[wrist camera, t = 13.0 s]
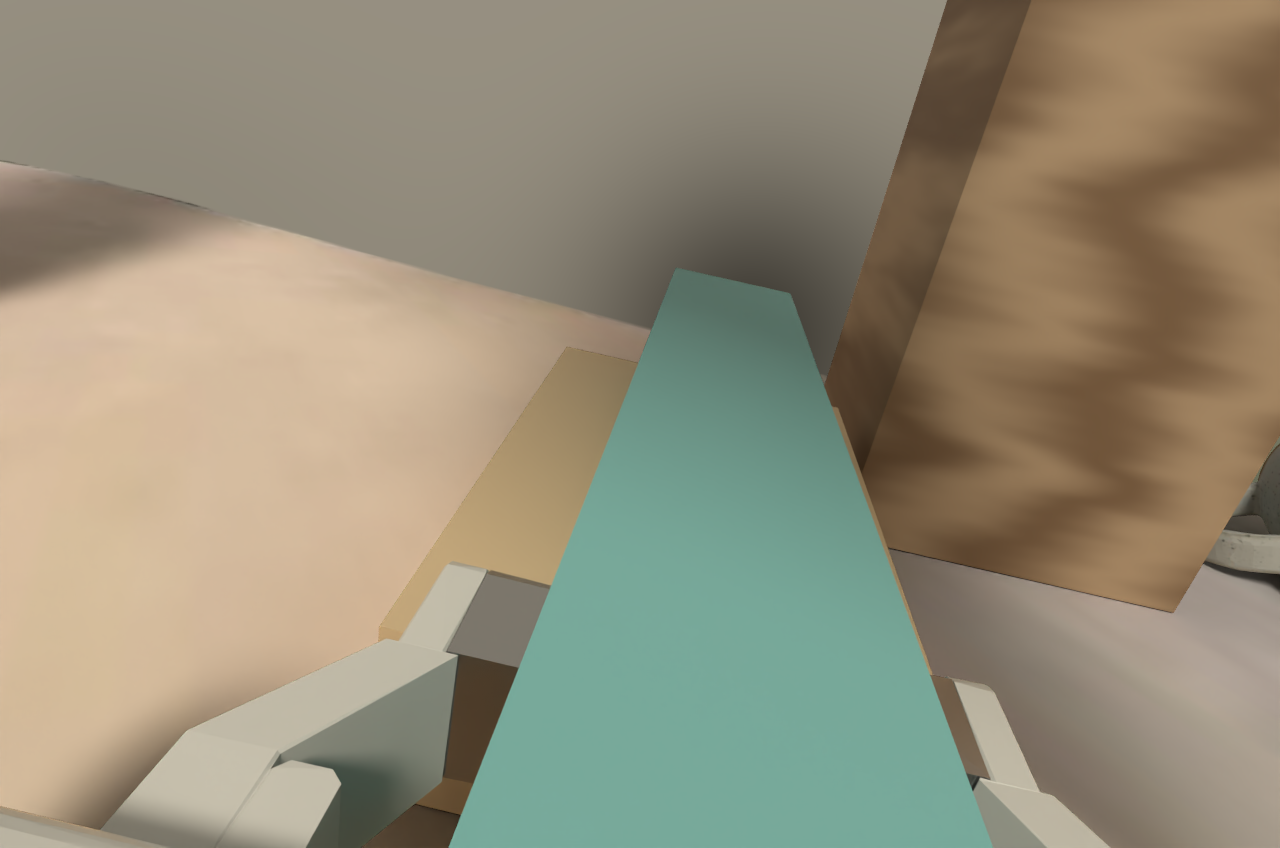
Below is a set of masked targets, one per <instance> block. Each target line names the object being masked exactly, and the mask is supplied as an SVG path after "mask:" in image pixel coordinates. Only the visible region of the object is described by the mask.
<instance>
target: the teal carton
mask: <svg viewBox="0 0 1280 848" xmlns="http://www.w3.org/2000/svg"><path fill="white" fill-rule="evenodd" d="M449 848H993V846H992V843H991V840H990V837H989V835H988V832H987V829H986V827H985V824H984V821H983V818H982V816H981V813H980V810H979V807H978V805H977V802H976V799H975V797H974V794H973V791H972V788H971V786H970V783H969V780H968V777H967V775H966V772H965V769H964V766H963V764H962V761H961V758H960V756H959V753H958V750H957V747H956V745H955V742H954V739H953V736H952V734H951V731H950V728H949V726H948V723H947V720H946V717H945V715H944V712H943V709H942V706H941V704H940V701H939V698H938V695H937V693H936V690H935V687H934V685H933V682H932V679H931V676H930V674H929V671H928V668H927V665H926V663H925V660H924V657H923V655H922V652H921V649H920V646H919V644H918V641H917V638H916V635H915V633H914V630H913V627H912V624H911V622H910V619H909V616H908V614H907V611H906V608H905V605H904V603H903V600H902V597H901V594H900V592H899V589H898V586H897V584H896V581H895V578H894V575H893V573H892V570H891V567H890V564H889V562H888V559H887V556H886V554H885V551H884V548H883V545H882V543H881V540H880V537H879V534H878V532H877V529H876V526H875V523H874V521H873V518H872V515H871V513H870V510H869V507H868V504H867V502H866V499H865V496H864V493H863V491H862V488H861V485H860V483H859V480H858V477H857V474H856V472H855V469H854V466H853V463H852V461H851V458H850V455H849V452H848V450H847V447H846V444H845V442H844V439H843V436H842V433H841V431H840V428H839V425H838V422H837V420H836V417H835V414H834V412H833V409H832V406H831V403H830V401H829V398H828V395H827V392H826V390H825V387H824V384H823V382H822V379H821V376H820V373H819V371H818V368H817V365H816V363H815V360H814V357H813V355H812V352H811V349H810V346H809V343H808V341H807V338H806V335H805V333H804V330H803V327H802V324H801V322H800V319H799V316H798V313H797V311H796V308H795V305H794V302H793V300H792V297H791V294H790V293H786V292H782V291H777V290H773V289H768V288H764V287H760V286H755V285H751V284H746V283H742V282H737V281H733V280H729V279H724V278H720V277H715V276H711V275H707V274H702V273H698V272H693V271H689V270H684V269H680V268H676V269H675V271H674V274H673V276H672V279H671V281H670V284H669V287H668V289H667V292H666V294H665V297H664V299H663V302H662V305H661V307H660V309H659V312H658V315H657V317H656V320H655V322H654V325H653V327H652V330H651V332H650V335H649V337H648V340H647V342H646V345H645V348H644V350H643V353H642V355H641V358H640V360H639V363H638V365H637V368H636V371H635V373H634V376H633V378H632V381H631V383H630V386H629V388H628V391H627V394H626V396H625V399H624V401H623V404H622V406H621V409H620V411H619V414H618V416H617V419H616V422H615V424H614V427H613V429H612V432H611V434H610V437H609V439H608V442H607V445H606V447H605V450H604V452H603V455H602V457H601V460H600V462H599V465H598V467H597V470H596V473H595V475H594V478H593V480H592V483H591V485H590V488H589V490H588V493H587V496H586V498H585V501H584V503H583V506H582V508H581V511H580V513H579V516H578V518H577V521H576V524H575V526H574V529H573V531H572V534H571V536H570V539H569V541H568V544H567V547H566V549H565V552H564V554H563V557H562V559H561V562H560V564H559V567H558V569H557V572H556V575H555V577H554V580H553V582H552V585H551V587H550V590H549V592H548V595H547V598H546V600H545V603H544V605H543V608H542V610H541V613H540V615H539V618H538V621H537V623H536V626H535V628H534V631H533V633H532V636H531V638H530V641H529V643H528V646H527V649H526V651H525V654H524V656H523V659H522V661H521V664H520V666H519V669H518V672H517V674H516V677H515V679H514V682H513V684H512V687H511V689H510V692H509V694H508V697H507V700H506V702H505V705H504V707H503V710H502V712H501V715H500V717H499V720H498V723H497V725H496V728H495V730H494V733H493V735H492V738H491V740H490V743H489V746H488V748H487V751H486V753H485V756H484V758H483V761H482V763H481V766H480V768H479V771H478V774H477V776H476V779H475V781H474V784H473V786H472V789H471V791H470V794H469V797H468V799H467V802H466V804H465V807H464V809H463V812H462V814H461V817H460V819H459V822H458V825H457V827H456V830H455V832H454V835H453V837H452V840H451V842H450V845H449Z"/></svg>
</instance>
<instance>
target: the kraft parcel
mask: <svg viewBox="0 0 1280 848" xmlns="http://www.w3.org/2000/svg"><path fill="white" fill-rule="evenodd" d="M637 365H638V363H637V362H632V361H628V360H623V359H619V358H615V357H610V356H606V355H601V354H597V353H592V352H588V351H583V350H579V349H575V348H570V347H566V349H565V350H564V352H563V353H562V355H561V356H560V358H559V359H558V361H557V362H556V364H555V365H554V367H553V368H552V370H551V371H550V373H549V374H548V376H547V377H546V379H545V380H544V382H543V383H542V385H541V386H540V388H539V389H538V391H537V392H536V394H535V395H534V396H533V398H532V399H531V401H530V402H529V404H528V405H527V407H526V408H525V410H524V411H523V413H522V414H521V416H520V417H519V419H518V420H517V422H516V423H515V425H514V426H513V428H512V429H511V431H510V432H509V434H508V435H507V437H506V438H505V440H504V441H503V443H502V444H501V446H500V447H499V449H498V450H497V452H496V453H495V455H494V456H493V458H492V459H491V461H490V462H489V464H488V465H487V467H486V468H485V470H484V471H483V473H482V474H481V476H480V477H479V479H478V480H477V481H476V483H475V484H474V486H473V487H472V489H471V490H470V492H469V493H468V495H467V496H466V498H465V499H464V501H463V502H462V504H461V505H460V507H459V508H458V510H457V511H456V513H455V514H454V516H453V517H452V519H451V520H450V522H449V523H448V525H447V526H446V528H445V529H444V531H443V532H442V534H441V535H440V537H439V538H438V540H437V541H436V543H435V544H434V546H433V547H432V549H431V550H430V552H429V553H428V555H427V556H426V558H425V559H424V561H423V562H422V564H421V565H420V567H419V568H418V569H417V571H416V572H415V574H414V575H413V577H412V578H411V580H410V581H409V583H408V584H407V586H406V587H405V589H404V590H403V592H402V593H401V595H400V596H399V598H398V599H397V601H396V602H395V604H394V605H393V607H392V608H391V610H390V611H389V613H388V614H387V616H386V617H385V619H384V620H383V622H382V623H381V625H380V626H379V640H378V642H380V641H382V640H384V639H391V640H396V641H399V639H400V637H401V636H402V634H403V632H404V631H405V629H406V628H407V626H408V624H409V623H410V621H411V620H412V618H413V616H414V615H415V613H416V612H417V610H418V608H419V607H420V605H421V604H422V602H423V600H424V599H425V597H426V595H427V594H428V592H429V591H430V589H431V587H432V586H433V584H434V583H435V581H436V579H437V578H438V576H439V575H440V573H441V571H442V570H443V568H444V567H445V566H446V565H447V564H449V563H450V562H452V561H455V562H459V563H463V564H468V565H472V566H476V567H480V568H484V569H487V570H489V571H491V570H493V571H497V572H501V573H505V574H509V575H513V576H516V577H520V578H524V579H528V580H532V581H536V582H540V583H544V584H548V585H552V582H553V580H554V577H555V575H556V572H557V569H558V567H559V564H560V562H561V559H562V557H563V554H564V552H565V549H566V547H567V544H568V541H569V539H570V536H571V534H572V531H573V529H574V526H575V524H576V521H577V518H578V516H579V513H580V511H581V508H582V506H583V503H584V501H585V498H586V496H587V493H588V490H589V488H590V485H591V483H592V480H593V478H594V475H595V473H596V470H597V467H598V465H599V462H600V460H601V457H602V455H603V452H604V450H605V447H606V445H607V442H608V439H609V437H610V434H611V432H612V429H613V427H614V424H615V422H616V419H617V416H618V414H619V411H620V409H621V406H622V404H623V401H624V399H625V396H626V394H627V391H628V388H629V386H630V383H631V381H632V378H633V376H634V373H635V371H636V368H637ZM832 409H833V412H834V414H835V417H836V420H837V422H838V425H839V428H840V431H841V433H842V436H843V439H844V442H845V444H846V447H847V450H848V452H849V455H850V458H851V461H852V463H853V466H854V469H855V472H856V474H857V477H858V480H859V483H860V485H861V488H862V491H863V493H864V496H865V499H866V502H867V504H868V507H869V510H870V513H871V515H872V518H873V521H874V523H875V526H876V529H877V532H878V534H879V537H880V540H881V543H882V545H883V548H884V551H885V554H886V556H887V559H888V562H889V564H890V567H891V570H892V573H893V575H894V578H895V581H896V584H897V586H898V589H899V592H900V594H901V597H902V600H903V603H904V605H905V608H906V611H907V614H908V616H909V619H910V622H911V624H912V627H913V630H914V633H915V635H916V638H917V641H918V644H919V646H920V649H921V652H922V655H923V657H924V660H925V663H926V665H927V668H928V671H929V674H931V675H933V674H932V671H931V668H930V665H929V663H928V660H927V657H926V654H925V651H924V649H923V646H922V643H921V640H920V637H919V634H918V632H917V629H916V626H915V623H914V620H913V618H912V615H911V612H910V609H909V606H908V603H907V601H906V598H905V595H904V592H903V589H902V587H901V584H900V581H899V578H898V575H897V573H896V570H895V567H894V564H893V561H892V558H891V556H890V553H889V550H888V547H887V544H886V542H885V539H884V536H883V533H882V530H881V528H880V525H879V522H878V519H877V516H876V513H875V511H874V508H873V505H872V502H871V499H870V497H869V494H868V491H867V488H866V485H865V483H864V480H863V477H862V474H861V471H860V468H859V466H858V463H857V460H856V457H855V454H854V452H853V449H852V446H851V443H850V440H849V438H848V435H847V432H846V429H845V426H844V423H843V421H842V418H841V415H840V412H839V409H838V408H837V407H832ZM472 786H473V784H472V783H468V782H463V781H458V780H453V779H449V778H444V777H442V782H441V783H440V784H439V785H437V786H436V787H435V788H434V789H432V790H431V791H430V792H429V793H427V794H426V795H425V796H424V797H423V798H421V799H420V800H419V801H418V802H416V803H415V804H418V805H422V806H426V807H430V808H434V809H439V810H443V811H447V812H451V813H455V814H459V815H461V814H462V812H463V809H464V807H465V804H466V802H467V799H468V797H469V794H470V791H471V789H472Z"/></svg>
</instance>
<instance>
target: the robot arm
mask: <svg viewBox="0 0 1280 848" xmlns="http://www.w3.org/2000/svg"><path fill="white" fill-rule="evenodd" d="M550 587H551V585H548V584H544V583H540V582H536V581H532V580H528V579H524V578H520V577H516V576H513V575H509V574H505V573H501V572H497V571H493V570H491V571H489V570H487V569H484V568H480V567H476V566H472V565H468V564H463V563H459V562H455V561H452V562H450V563H449V564H447V565H446V566H445V567H444V568H443V570H442V571H441V573H440V575H439V576H438V578H437V579H436V581H435V583H434V584H433V586H432V587H431V589H430V591H429V592H428V594H427V595H426V597H425V599H424V600H423V602H422V604H421V605H420V607H419V608H418V610H417V612H416V613H415V615H414V616H413V618H412V620H411V621H410V623H409V624H408V626H407V628H406V629H405V631H404V632H403V634H402V636H401V637H400V639H399V641H396V640H391V639H384V640H382V641H380V642H378V643H375V644H373V645H371V646H369V647H367V648H365V649H362V650H360V651H358V652H356V653H354V654H352V655H349V656H347V657H345V658H343V659H341V660H338V661H336V662H334V663H332V664H330V665H328V666H325V667H323V668H321V669H319V670H317V671H315V672H312V673H310V674H308V675H306V676H304V677H302V678H299V679H297V680H295V681H293V682H291V683H288V684H286V685H284V686H282V687H280V688H278V689H275V690H273V691H271V692H269V693H267V694H265V695H262V696H260V697H258V698H256V699H254V700H252V701H249V702H247V703H245V704H243V705H241V706H238V707H236V708H234V709H232V710H230V711H228V712H225V713H223V714H221V715H219V716H217V717H215V718H212V719H210V720H208V721H206V722H204V723H202V724H199V725H197V726H195V727H193V728H191V729H188V730H187V731H186V732H185V733H184V734H183V735H182V736H181V737H180V739H179V740H178V741H177V742H176V743H175V744H174V745H173V747H172V748H171V749H170V750H169V751H168V752H167V753H166V755H165V756H164V757H163V758H162V759H161V760H160V761H159V763H158V764H157V765H156V766H155V767H154V768H153V769H152V771H151V772H150V773H149V774H148V775H147V776H146V777H145V779H144V780H143V781H142V782H141V783H140V784H139V785H138V787H137V788H136V789H135V790H134V791H133V792H132V794H131V795H130V796H129V797H128V798H127V799H126V800H125V802H124V803H123V804H122V805H121V806H120V807H119V808H118V810H117V811H116V812H115V813H114V814H113V815H112V816H111V818H110V819H109V820H108V821H107V822H106V823H105V824H104V826H103V827H102V828H101V829H100V830H97V829H93V828H89V827H84V826H80V825H76V824H72V823H68V822H64V821H60V820H56V819H52V818H47V817H43V816H39V815H35V814H31V813H27V812H23V811H19V810H15V809H10V808H6V807H2V806H0V848H361V847H362V846H363V845H365V844H366V843H367V842H368V841H370V840H371V839H372V838H373V837H375V836H376V835H377V834H378V833H379V832H381V831H382V830H383V829H384V828H386V827H387V826H388V825H389V824H391V823H392V822H393V821H394V820H395V819H397V818H398V817H399V816H400V815H402V814H403V813H404V812H405V811H407V810H408V809H409V808H410V807H411V806H413V805H414V804H415V803H416V802H418V801H419V800H420V799H421V798H423V797H424V796H425V795H426V794H427V793H429V792H430V791H431V790H432V789H434V788H435V787H436V786H437V785H439V784H440V783H441V782H442V777H444V778H449V779H453V780H458V781H463V782H468V783H472V784H474V781H475V779H476V776H477V774H478V771H479V768H480V766H481V763H482V761H483V758H484V756H485V753H486V751H487V748H488V746H489V743H490V740H491V738H492V735H493V733H494V730H495V728H496V725H497V723H498V720H499V717H500V715H501V712H502V710H503V707H504V705H505V702H506V700H507V697H508V694H509V692H510V689H511V687H512V684H513V682H514V679H515V677H516V674H517V672H518V669H519V666H520V664H521V661H522V659H523V656H524V654H525V651H526V649H527V646H528V643H529V641H530V638H531V636H532V633H533V631H534V628H535V626H536V623H537V621H538V618H539V615H540V613H541V610H542V608H543V605H544V603H545V600H546V598H547V595H548V592H549V590H550ZM930 676H931V679H932V682H933V685H934V687H935V690H936V693H937V695H938V698H939V701H940V704H941V706H942V709H943V712H944V715H945V717H946V720H947V723H948V726H949V728H950V731H951V734H952V736H953V739H954V742H955V745H956V747H957V750H958V753H959V756H960V758H961V761H962V764H963V766H964V769H965V772H966V775H967V777H968V780H969V783H970V786H971V788H972V791H973V794H974V797H975V799H976V802H977V805H978V807H979V810H980V813H981V816H982V818H983V821H984V824H985V827H986V829H987V832H988V835H989V837H990V840H991V843H992V846H993V848H1110V847H1109V846H1108V845H1107V844H1106V843H1105V842H1104V841H1103V840H1102V839H1100V838H1099V837H1098V836H1097V835H1096V834H1095V833H1094V832H1093V831H1092V830H1091V829H1089V828H1088V827H1087V826H1086V825H1085V824H1084V823H1083V822H1082V821H1081V820H1080V819H1079V818H1077V817H1076V816H1075V815H1074V814H1073V813H1072V812H1071V811H1070V810H1069V809H1068V808H1067V807H1065V806H1064V805H1063V804H1062V803H1061V802H1060V801H1059V800H1058V799H1057V798H1056V797H1054V796H1053V795H1049V794H1045V793H1041V792H1040V791H1039V788H1038V786H1037V784H1036V782H1035V780H1034V777H1033V775H1032V773H1031V771H1030V769H1029V767H1028V764H1027V762H1026V760H1025V758H1024V756H1023V753H1022V751H1021V749H1020V747H1019V745H1018V743H1017V740H1016V738H1015V736H1014V734H1013V732H1012V729H1011V727H1010V725H1009V723H1008V721H1007V719H1006V716H1005V714H1004V712H1003V710H1002V708H1001V705H1000V703H999V701H998V699H997V697H996V694H995V692H994V691H993V690H992V689H991V688H990V687H988V686H987V685H986V684H981V683H976V682H971V681H966V680H961V679H956V678H951V677H945V678H944V677H940V676H935V675H931V674H930Z"/></svg>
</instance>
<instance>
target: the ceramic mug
mask: <svg viewBox="0 0 1280 848" xmlns="http://www.w3.org/2000/svg"><path fill="white" fill-rule="evenodd" d="M1247 515H1258V516H1261V517H1262V518H1263V520H1264V523H1265V525H1266V527H1267V529H1268V531H1269V533H1270V534H1271V535H1259V534H1251V533H1243V532H1237V531H1230V530H1224V529H1223V531H1222V533H1221V534H1220V536H1219V538H1218V539H1217V541H1216V543H1215V544H1214V546H1213V548H1212V549H1211V551H1210V553H1209V554H1208V556H1207V558H1206V559H1205V561H1208V562H1210V563H1214V564H1217V565H1220V566H1224V567H1228V568H1232V569H1236V570H1241V571H1249V572H1259V573H1272V574H1280V444H1279V445H1278V446H1277V447H1276V448H1275V449H1274V450H1273V451H1272V452H1271V454H1270V455H1269V456H1268V458H1267V459H1266V461H1265V462H1264V465H1263V467H1262V469H1261V472H1260V475H1259V478H1258V482H1255V483H1251V484H1250V486H1249V488H1248V489H1247V491H1246V493H1245V494H1244V496H1243V498H1242V499H1241V501H1240V503H1239V504H1238V506H1237V508H1236V509H1235V511H1234V513H1233V514H1232V516H1231V517H1235V516H1247Z"/></svg>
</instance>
